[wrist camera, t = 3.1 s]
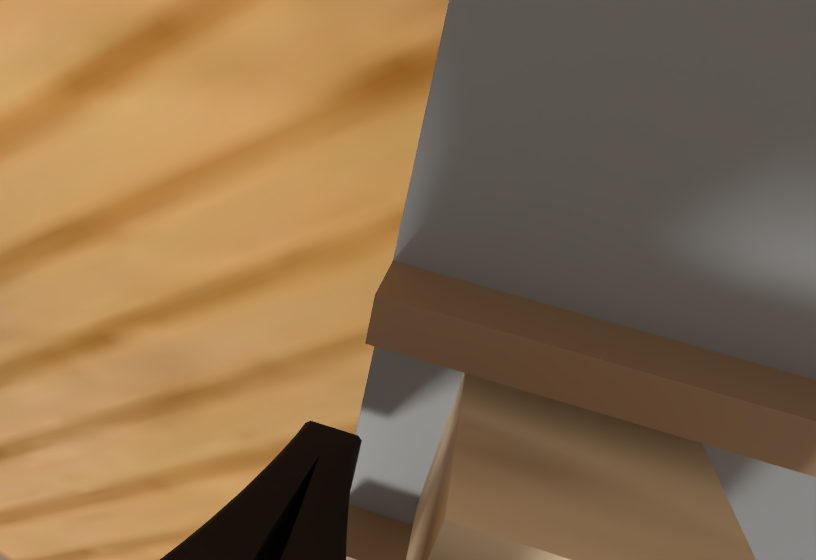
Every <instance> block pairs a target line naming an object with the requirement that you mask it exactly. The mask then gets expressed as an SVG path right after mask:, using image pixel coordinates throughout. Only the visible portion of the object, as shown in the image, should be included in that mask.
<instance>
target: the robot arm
mask: <svg viewBox="0 0 816 560" xmlns="http://www.w3.org/2000/svg"><path fill="white" fill-rule="evenodd" d="M361 442H362V440H361V439H360V437H359V436H357V435H354V434H351V433H348V432H345V431H341V430H338V429H335V428H332V427H329V426H325V425H322V424H319V423H316V422H313V421H309V422H307V423H305V425H304V426H303V427H302V428H301V430H300V431H299V432H298V433H297V434H296V436H295V437H294V438H293V439H292V440H291V441H290V443H289V444H288V445H287V446H286V447H285V448H284V449H283V450H282V451H281V452H280V453H279V455H278V456H277V457H276V458H275V459H274V460H273V461H272V462H271V463H270V464H269V465H268V466H267V467H266V468H265V469H264V470H263V471H262V472H261V473H260V474H259V475H258V476H257V477H256V478H255V479H254V480H253V481H252V482H251V483H250V484H249V485H248V486H247V487H246V488H245V489H243V490H242V491H241V492H240V493H239V494H238V495H237V496H236V497H235V498H234V499H233V500H231V501H230V502H229V503H228V504H227V505H226V506H225V507H223V508H222V509H221V510H220V511H219V512H218V513H217V514H216V515H214V516H213V517H212V518H211V519H210V520H209V521H208V522H206V523H205V524H204V525H203V526H202V527H200V528H199V529H198V530H197V531H196V532H194V533H193V534H192V535H191V536H190V537H188V538H187V539H186V540H185V541H183V542H182V543H181V544H180V545H178V546H177V547H176V548H174V549H173V550H172V551H171V552H169V553H168V554H167V555H165V556H164V557H163V558H161V559H160V560H346V543H347V524H348V510H349V498H350V490H351V487H352V482H353V478H354V473H355V469H356V464H357V460H358V455H359V451H360V447H361Z"/></svg>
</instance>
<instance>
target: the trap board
mask: <svg viewBox="0 0 816 560" xmlns="http://www.w3.org/2000/svg"><path fill="white" fill-rule="evenodd" d="M366 344H369V345H372V346H375V347H374V351H373V356H372V361H371V365H370V370H369V374H368V379H367V384H366V388H365V393H364V398H363V402H362V407H361V412H360V416H359V421H358V425H357V430H356V435H357V436H359V437H360V439H361V440H362V442H361V447H360V451H359V455H358V460H357V464H356V469H355V473H354V478H353V482H352V487H351V490H350V498H349V510H348V524H347V543H346V560H406V557H407V552H408V547H409V542H410V537H411V532H412V527H413V522H414V517H415V512H416V508H417V504H418V501H419V498H420V495H421V492H422V490H423V487H424V484H425V481H426V478H427V475H428V473H429V470H430V467H431V464H432V461H433V458H434V456H435V453H436V450H437V447H438V444H439V441H440V439H441V436H442V433H443V430H444V427H445V424H446V422H447V419H448V416H449V413H450V410H451V407H452V405H453V402H454V399H455V396H456V393H457V390H458V388H459V385H460V382H461V379H462V376H463V373H467V374H470V375H473V376H477V377H480V378H483V379H487V380H490V381H493V382H497V383H500V384H504V385H507V386H510V387H514V388H517V389H520V390H524V391H527V392H531V393H534V394H537V395H541V396H544V397H547V398H551V399H554V400H557V401H561V402H564V403H568V404H571V405H574V406H578V407H581V408H584V409H588V410H591V411H594V412H598V413H601V414H605V415H608V416H611V417H615V418H618V419H621V420H625V421H628V422H631V423H635V424H638V425H642V426H645V427H648V428H652V429H655V430H658V431H662V432H665V433H669V434H672V435H675V436H679V437H682V438H685V439H689V440H692V441H695V442H699V443H702V445H703V447H704V449H705V451H706V453H707V456H708V458H709V460H710V462H711V464H712V466H713V468H714V471H715V473H716V475H717V477H718V479H719V481H720V483H721V486H722V488H723V490H724V492H725V494H726V496H727V499H728V501H729V503H730V505H731V507H732V509H733V511H734V514H735V516H736V518H737V520H738V522H739V524H740V526H741V529H742V531H743V533H744V535H745V537H746V539H747V541H748V544H749V546H750V548H751V550H752V552H753V554H754V556H755V559H756V560H816V0H449V4H448V9H447V13H446V18H445V23H444V27H443V32H442V36H441V41H440V46H439V50H438V55H437V60H436V64H435V69H434V73H433V78H432V83H431V87H430V92H429V97H428V101H427V106H426V111H425V115H424V120H423V124H422V129H421V134H420V138H419V143H418V148H417V152H416V157H415V161H414V166H413V171H412V175H411V180H410V185H409V189H408V194H407V199H406V203H405V208H404V212H403V217H402V222H401V226H400V231H399V236H398V240H397V245H396V249H395V254H394V259H393V262H392V264H391V266H390V268H389V269H388V271H387V273H386V275H385V277H384V279H383V281H382V283H381V285H380V286H379V288H378V290H377V292H376V294H375V298H374V303H373V308H372V313H371V318H370V323H369V328H368V333H367V338H366Z"/></svg>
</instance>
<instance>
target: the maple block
mask: <svg viewBox="0 0 816 560" xmlns="http://www.w3.org/2000/svg"><path fill="white" fill-rule="evenodd" d="M406 560H756V559H755V556H754V554H753V552H752V550H751V548H750V546H749V544H748V541H747V539H746V537H745V535H744V533H743V531H742V529H741V526H740V524H739V522H738V520H737V518H736V516H735V514H734V511H733V509H732V507H731V505H730V503H729V501H728V499H727V496H726V494H725V492H724V490H723V488H722V486H721V483H720V481H719V479H718V477H717V475H716V473H715V471H714V468H713V466H712V464H711V462H710V460H709V458H708V456H707V453H706V451H705V449H704V447H703V445H702V443H699V442H695V441H692V440H689V439H685V438H682V437H679V436H675V435H672V434H669V433H665V432H662V431H658V430H655V429H652V428H648V427H645V426H642V425H638V424H635V423H631V422H628V421H625V420H621V419H618V418H615V417H611V416H608V415H605V414H601V413H598V412H594V411H591V410H588V409H584V408H581V407H578V406H574V405H571V404H568V403H564V402H561V401H557V400H554V399H551V398H547V397H544V396H541V395H537V394H534V393H531V392H527V391H524V390H520V389H517V388H514V387H510V386H507V385H504V384H500V383H497V382H493V381H490V380H487V379H483V378H480V377H477V376H473V375H470V374H467V373H463V376H462V379H461V382H460V385H459V388H458V390H457V393H456V396H455V399H454V402H453V405H452V407H451V410H450V413H449V416H448V419H447V422H446V424H445V427H444V430H443V433H442V436H441V439H440V441H439V444H438V447H437V450H436V453H435V456H434V458H433V461H432V464H431V467H430V470H429V473H428V475H427V478H426V481H425V484H424V487H423V490H422V492H421V495H420V498H419V501H418V504H417V508H416V512H415V517H414V522H413V527H412V532H411V537H410V542H409V547H408V552H407V557H406Z"/></svg>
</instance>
